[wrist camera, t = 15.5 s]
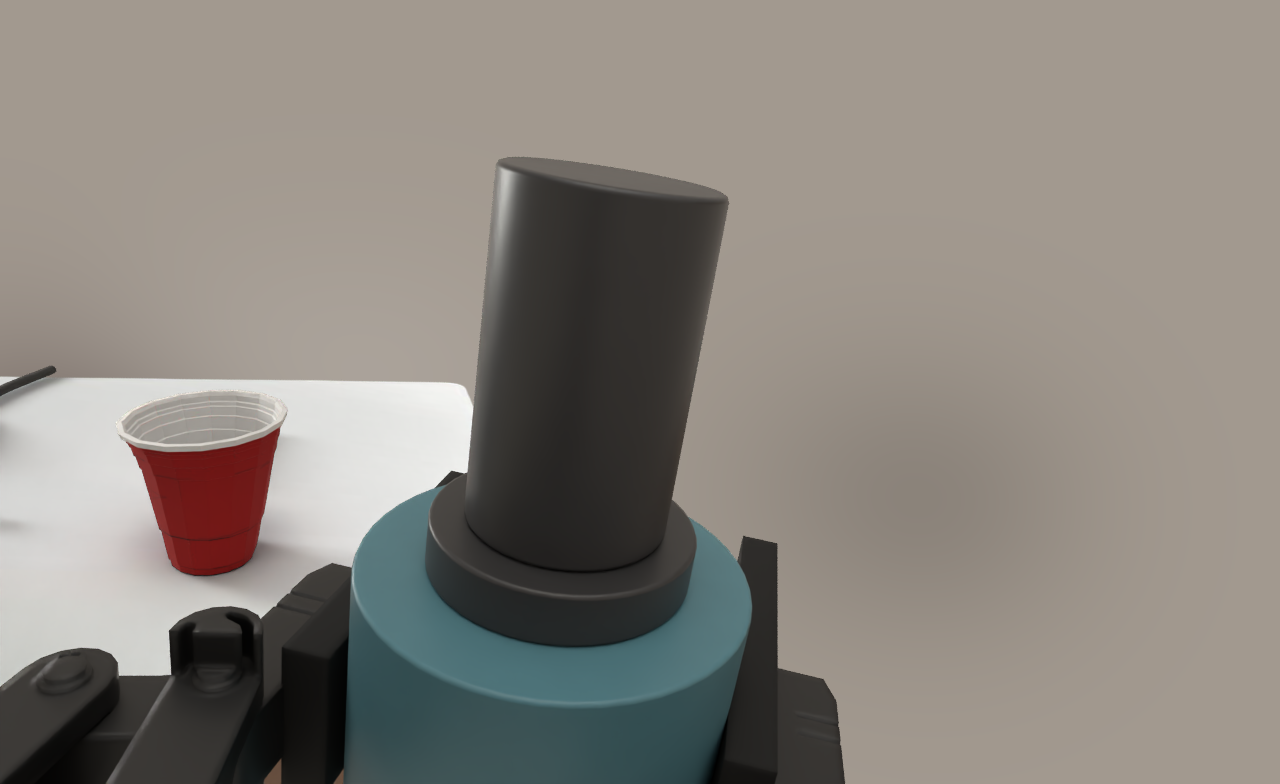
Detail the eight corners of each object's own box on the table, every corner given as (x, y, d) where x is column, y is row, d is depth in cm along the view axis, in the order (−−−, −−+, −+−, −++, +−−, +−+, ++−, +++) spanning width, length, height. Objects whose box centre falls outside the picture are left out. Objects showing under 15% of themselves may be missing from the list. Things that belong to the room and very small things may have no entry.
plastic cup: (174, 511, 64) (167, 375, 60) (307, 527, 65) (309, 394, 61) (92, 587, 54) (77, 430, 50) (252, 604, 55) (249, 451, 51)
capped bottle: (277, 1044, 16) (278, 121, 10) (517, 873, 20) (619, 156, 14) (439, 1381, 12) (602, 221, 6) (691, 1082, 16) (934, 227, 10)
